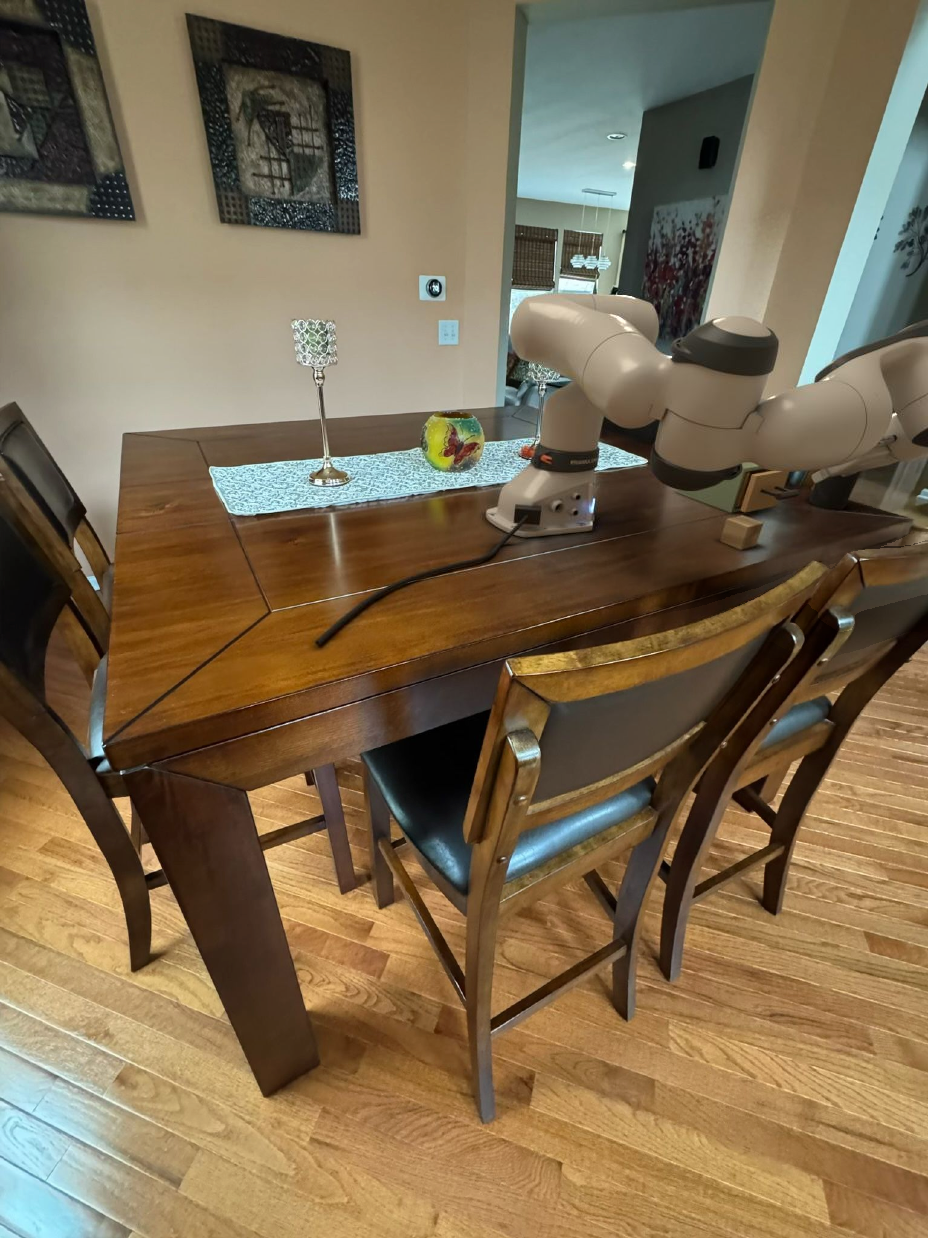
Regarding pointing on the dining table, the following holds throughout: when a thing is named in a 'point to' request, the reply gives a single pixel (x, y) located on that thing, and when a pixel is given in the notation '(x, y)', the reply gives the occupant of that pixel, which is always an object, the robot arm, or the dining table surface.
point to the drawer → (763, 489)
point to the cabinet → (723, 491)
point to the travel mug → (833, 491)
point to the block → (741, 532)
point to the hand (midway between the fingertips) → (828, 476)
